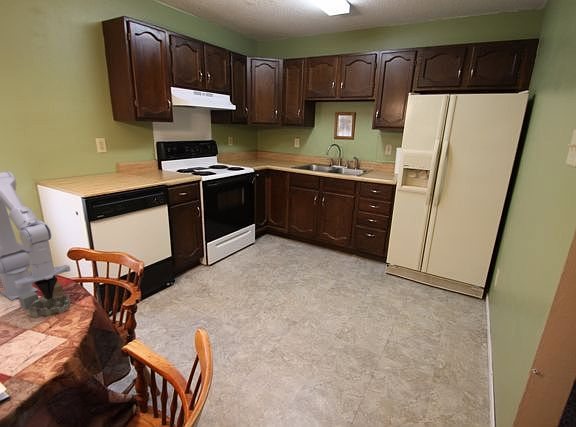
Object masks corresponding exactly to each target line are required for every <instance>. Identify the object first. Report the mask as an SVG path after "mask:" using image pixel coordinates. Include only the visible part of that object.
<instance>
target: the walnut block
mask: <svg viewBox="0 0 576 427" xmlns="http://www.w3.org/2000/svg"><path fill="white" fill-rule="evenodd" d="M63 295H65V292H64V287H63V284H61V283H60V282H58V281H57V282H56V284H55V287H54V290H53V297H54V296H58V297H59V296H63Z"/></svg>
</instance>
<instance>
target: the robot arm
mask: <svg viewBox="0 0 576 427" xmlns="http://www.w3.org/2000/svg"><path fill="white" fill-rule="evenodd" d="M16 191H17V180H16V177H15V175H14V174H13V173H12V172H10V171H7V170H6V171H3V172H0V281H1V283H2V284H1V285H2V288H3V290H1V291H0V294H2V295H4V296H5V297H6V298H7V299H9V300H10V301H12V300H16V299H19V297H18V296H19V295H21V294H24V293H27V292H30V291H34V292H35V293H36V292H38V290H40V292H41V294H42V295H43V298H45V299H47V300H49V299H52V298H53V290H54V287H55V284H56V282H58V278H57V276H58V275H60V274H63V273H68V272H71V267H70V265H69V264H64V265H60V266H56V267H54V261H53V257H52V252H51V251H52V250H51V247H50V242H49V240H51V239H52V232H51V229H50V227H49V226H48V224H47V223H46V222H43V221H42V220H39V219H38V217H37V216H36V215H35V214H34V212H33V211H32V209H31V207H28V206H24V204H23V203H22V200H21V198H19V195H18V194H17V192H16ZM8 211H9V213H8ZM11 221H12V222H11ZM12 223H13V225H14V226H15V228H17V230H18V231H19V234H18V235H19V236H18V237H19V239H20V242H21V243H19V242H17V238H16V235H15V232H14V229H13V225H12ZM29 269H30V270H29ZM30 272H31V273H30ZM33 284H34V285H35V286H36V287H37V288H36V287H35V286H33Z"/></svg>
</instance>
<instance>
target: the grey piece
mask: <svg viewBox="0 0 576 427" xmlns="http://www.w3.org/2000/svg"><path fill="white" fill-rule="evenodd" d="M63 304H64V305H63ZM69 305H71V300H70V292H69V293H66V294H64V295H61V296H59V297H58V296H54V297H53V298H52V299H49V300H47V299H45V297H40V298H39V299H37V300H36V301H34V302H33V303H32V306H31V308H28V309H27V311H28V312H29V315H30V318H33V319H37V318H39V317H41V316H47V317H49V316H51V315H53V314H55V313H59V314H63V313H64V312H66V311H68V310H69ZM49 307H51V308H49Z"/></svg>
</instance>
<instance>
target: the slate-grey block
mask: <svg viewBox="0 0 576 427" xmlns="http://www.w3.org/2000/svg"><path fill="white" fill-rule="evenodd" d="M18 297H19V298H18V301H19V304H20V307H22V308H23V309H24V310H28V308H31V306H32V303H33V302H34V301H36V300H37V299H40V298H39V294H38V292H36V291H35V292H34V291H30V292H27V293H24V294H21V295H19V296H18Z"/></svg>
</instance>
